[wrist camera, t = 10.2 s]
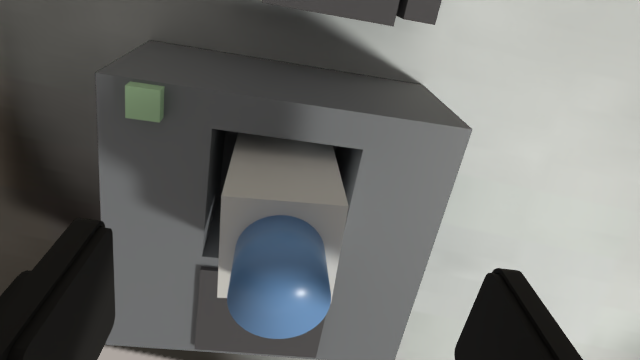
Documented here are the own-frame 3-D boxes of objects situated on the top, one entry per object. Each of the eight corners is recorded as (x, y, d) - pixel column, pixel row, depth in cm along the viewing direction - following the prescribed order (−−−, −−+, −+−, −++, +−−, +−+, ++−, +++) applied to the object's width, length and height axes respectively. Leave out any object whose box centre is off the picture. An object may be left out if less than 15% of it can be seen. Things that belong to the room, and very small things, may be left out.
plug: (325, 116, 20) (359, 246, 11) (315, 187, 21) (337, 354, 12) (244, 108, 19) (210, 237, 10) (240, 181, 21) (206, 348, 12)
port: (422, 84, 20) (477, 134, 15) (369, 278, 25) (395, 374, 19) (149, 40, 19) (88, 76, 13) (146, 256, 23) (100, 354, 18)
